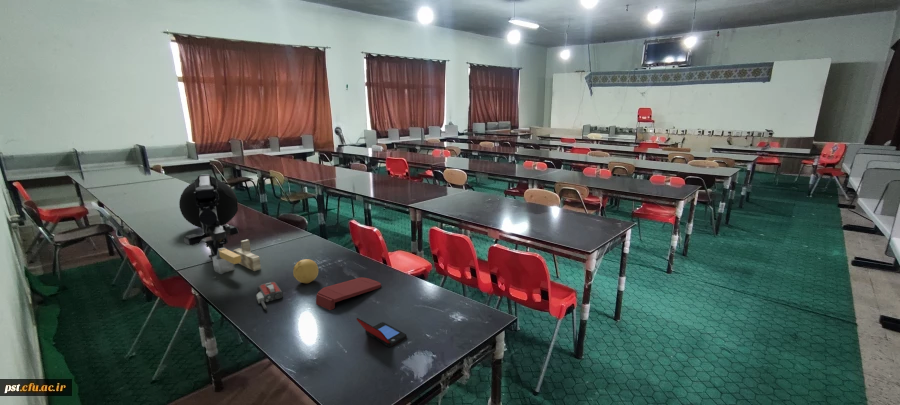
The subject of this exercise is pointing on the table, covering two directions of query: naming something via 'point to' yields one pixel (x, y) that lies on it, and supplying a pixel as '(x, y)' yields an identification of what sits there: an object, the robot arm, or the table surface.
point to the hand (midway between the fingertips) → (215, 254)
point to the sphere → (225, 206)
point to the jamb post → (222, 265)
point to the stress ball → (305, 271)
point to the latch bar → (229, 255)
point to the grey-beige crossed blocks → (248, 256)
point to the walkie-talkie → (268, 293)
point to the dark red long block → (344, 291)
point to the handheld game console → (383, 333)
